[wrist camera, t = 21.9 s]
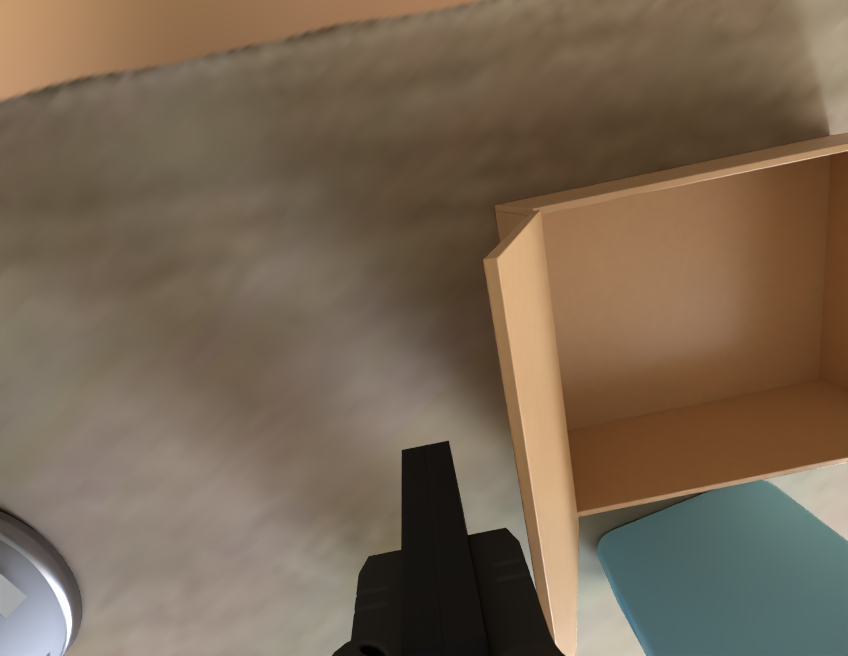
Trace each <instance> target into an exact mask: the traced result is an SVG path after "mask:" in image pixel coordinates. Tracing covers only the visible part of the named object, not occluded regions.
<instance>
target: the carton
mask: <svg viewBox="0 0 848 656" xmlns="http://www.w3.org/2000/svg"><path fill="white" fill-rule="evenodd" d="M536 210H540V211H541V219H542V227H543V235H544V243H545V252H546V260H547V268H548V276H549V284H550V293H551V301H552V309H553V317H554V326H555V334H556V342H557V350H558V359H559V367H560V375H561V383H562V392H563V400H564V408H565V416H566V424H567V433H568V441H569V449H570V457H571V466H572V474H573V482H574V490H575V499H576V507H577V515H578V517H581V516H586V515H591V514H596V513H601V512H606V511H610V510H615V509H620V508H625V507H630V506H635V505H640V504H645V503H650V502H655V501H660V500H665V499H669V498H674V497H679V496H684V495H689V494H694V493H699V492H704V491H709V490H714V489H719V488H723V487H728V486H733V485H738V484H743V483H748V482H753V481H758V480H763V479H768V478H773V477H777V476H782V475H787V474H792V473H797V472H802V471H807V470H812V469H817V468H822V467H827V466H831V465H836V464H841V463H846V462H848V133H844V134H837V135H831V136H826V137H821V138H816V139H811V140H807V141H802V142H797V143H792V144H787V145H783V146H778V147H773V148H768V149H763V150H758V151H754V152H749V153H744V154H739V155H734V156H730V157H725V158H720V159H715V160H710V161H705V162H701V163H696V164H691V165H686V166H681V167H677V168H672V169H667V170H662V171H657V172H653V173H648V174H643V175H638V176H633V177H628V178H624V179H619V180H614V181H609V182H604V183H600V184H595V185H590V186H585V187H580V188H575V189H571V190H566V191H561V192H556V193H551V194H547V195H542V196H537V197H532V198H527V199H523V200H518V201H513V202H508V203H503V204H498V205H495V212H496V219H497V226H498V232H499V239H500V243H501V242H502V241H503V240H504V239H505V238H506V237H507V236H508V235H509V234H510V233H511V232H512V231H513V230H514V229H515V228H516V227H517V226H518V225H519V224H520V223H521V222H522V221H523V220H524V219H525V218H526V217H527V216H528V215H529V214H530V213H531V212H532V211H536Z"/></svg>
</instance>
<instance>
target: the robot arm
mask: <svg viewBox="0 0 848 656" xmlns="http://www.w3.org/2000/svg"><path fill="white" fill-rule="evenodd" d="M356 594H357V597H356V602H355V614H354V619H353V628H352V636H351V641H349V642H347V643H346V644H344V645H343V646H342V647H341V648H339V649H338V650H337V651H335V652H334V654H333V655H332V656H565V655H564V654H563V653H562V652H561V651H560V649H559V648H558V647H557V646H556V644H555V643H554V640H553V638H552V636H551V634H550V631H549V628H548V625H547V622H546V619H545V616H544V614H543V611H542V608H541V605H540V602H539V599H538V596H537V593H536V590H535V587H534V584H533V581H532V578H531V576H530V572H529V569H528V566H527V563H526V561H525V557H524V554H523V551H522V548H521V545H520V543H519V541H518V540H517V539H516V538H515V537H514V536H513V535H512V534H511V533H510V531H509V530H508V529H507V528H502V529H497V530H492V531H487V532H482V533H477V534H472V535H468V533H467V528H466V523H465V518H464V512H463V508H462V503H461V498H460V493H459V488H458V483H457V479H456V474H455V469H454V464H453V459H452V454H451V449H450V445H449V441H445V442H440V443H435V444H430V445H425V446H420V447H415V448H410V449H405V450H402V541H401V550H398V551H393V552H388V553H383V554H378V555H373V556H369V557H368V558H367V560H366V562H365V564H364V566H363V568H362V569H361V571H360V573H359V576H358V585H357V593H356ZM81 618H82V602H81V596H80V591H79V588H78V585H77V582H76V580H75V578H74V576H73V573H72V572H71V570H70V568H69V567H68V565H67V563H66V562H65V561H64V559H63V558H62V557H61V555H60V554H59V553H58V552H57V551H56V550H55V549H54V547H53V546H52V545H50V544H49V543H48V542H47V541H46V540H45V539H44V538H43V537H42V536H40V535H39V534H38V533H37V532H35V531H34V530H33V529H31V528H30V527H28V526H27V525H25V524H24V523H22V522H20V521H18V520H17V519H15V518H13V517H11V516H9V515H7V514H5V513H3V512H1V511H0V656H64V654H65V653H66V652H67V650H68V649H69V647H70V646H71V645H72V643H73V641H74V640H75V638H76V636H77V633H78V630H79V627H80V623H81Z"/></svg>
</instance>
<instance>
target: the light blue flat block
mask: <svg viewBox="0 0 848 656" xmlns="http://www.w3.org/2000/svg"><path fill="white" fill-rule="evenodd" d="M597 552H598V557H599V559H600V562H601V564H602V566H603V569H604V571H605V573H606V576H607V578H608V581H609V583H610V585H611V588H612V590H613V592H614V595H615V597H616V600H617V602H618V604H619V606H620V607H621V609H622V611H623V613H624V615H625V617H626V619H627V620H628V622H629V624H630V626H631V628H632V630H633V632H634V633H635V635H636V637H637V639H638V641H639V643H640V645H641V646H642V648H643V650H644V652H645V654H646V656H848V541H847V540H845V539H844V538H843V537H841V536H840V535H839V534H838V533H836V532H835V531H834V530H832V529H831V528H830V527H828V526H827V525H826V524H824V523H823V522H822V521H821V520H819V519H818V518H817V517H815V516H814V515H813V514H811V513H810V512H809V511H808V510H806V509H805V508H804V507H802V506H801V505H800V504H798V503H797V502H796V501H794V500H793V499H792V498H791V497H789V496H788V495H787V494H785V493H784V492H783V491H781V490H780V489H779V488H777V487H776V486H775V485H773V484H771V483H769V482H766V481H763V480H758V481H753V482H748V483H743V484H738V485H733V486H728V487H723V488H719V489H714V490H710V491H708V492H706V493H703V494H701V495H698V496H696V497H693V498H691V499H688V500H686V501H683V502H681V503H678V504H676V505H673V506H671V507H668V508H666V509H664V510H661V511H659V512H656V513H654V514H651V515H649V516H646V517H644V518H641V519H639V520H636V521H634V522H631V523H629V524H627V525H624V526H622V527H619V528H617V529H614V530H612V531H610V532H608V533H606V534H605V535H604V536H603V537H602V538H601V540H600V542H599V544H598V549H597Z"/></svg>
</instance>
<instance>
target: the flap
mask: <svg viewBox="0 0 848 656" xmlns="http://www.w3.org/2000/svg"><path fill="white" fill-rule="evenodd" d="M483 263H484V269H485V276H486V282H487V288H488V294H489V300H490V307H491V313H492V319H493V325H494V331H495V337H496V344H497V350H498V356H499V362H500V368H501V375H502V381H503V387H504V393H505V399H506V405H507V412H508V418H509V424H510V430H511V436H512V443H513V449H514V455H515V461H516V467H517V473H518V480H519V486H520V492H521V498H522V504H523V511H524V517H525V523H526V529H527V535H528V542H529V548H530V554H531V560H532V566H533V572H534V579H535V585H536V591H537V596H538V599H539V602H540V605H541V608H542V611H543V614H544V616H545V619H546V622H547V625H548V628H549V631H550V634H551V636H552V638H553V640H554V643H555V644H556V646H557V647H558V648H559V649H560V651H561V652H562V653H563V654H564V655H565V656H576V650H577V600H578V551H579V523H578V515H577V507H576V499H575V490H574V482H573V474H572V466H571V457H570V449H569V441H568V433H567V424H566V416H565V408H564V400H563V392H562V383H561V375H560V367H559V359H558V350H557V342H556V334H555V326H554V317H553V309H552V301H551V293H550V284H549V276H548V268H547V260H546V252H545V243H544V235H543V227H542V219H541V211H540V210H536V211H532V212H531V213H530V214H529V215H528V216H527V217H526V218H525V219H524V220H523V221H522V222H521V223H520V224H519V225H518V226H517V227H516V228H515V229H514V230H513V231H512V232H511V233H510V234H509V235H508V236H507V237H506V238H505V239H504V240H503V241H502V242H501V243H500V244H499V245H498V246H497V247H495V248H494V249H493V250H492V251H491V252H490V253H489V254H488V255H487V256H486V257H485V258H484V259H483Z"/></svg>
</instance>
